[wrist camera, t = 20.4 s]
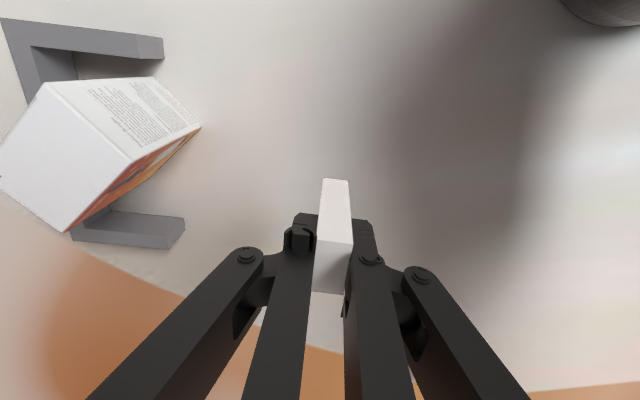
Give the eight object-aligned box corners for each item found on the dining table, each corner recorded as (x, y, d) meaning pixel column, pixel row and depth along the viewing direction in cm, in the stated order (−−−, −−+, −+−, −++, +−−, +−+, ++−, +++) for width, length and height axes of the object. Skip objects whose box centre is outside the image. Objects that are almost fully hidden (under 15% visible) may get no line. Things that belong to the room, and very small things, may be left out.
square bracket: (45, 23, 22) (-2, 17, 19) (162, 38, 22) (135, 34, 19) (99, 221, 30) (72, 240, 27) (184, 230, 30) (168, 249, 27)
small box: (150, 177, 28) (60, 237, 18) (100, 133, 26) (-30, 173, 16) (205, 126, 25) (134, 164, 16) (154, 73, 24) (40, 80, 14)
